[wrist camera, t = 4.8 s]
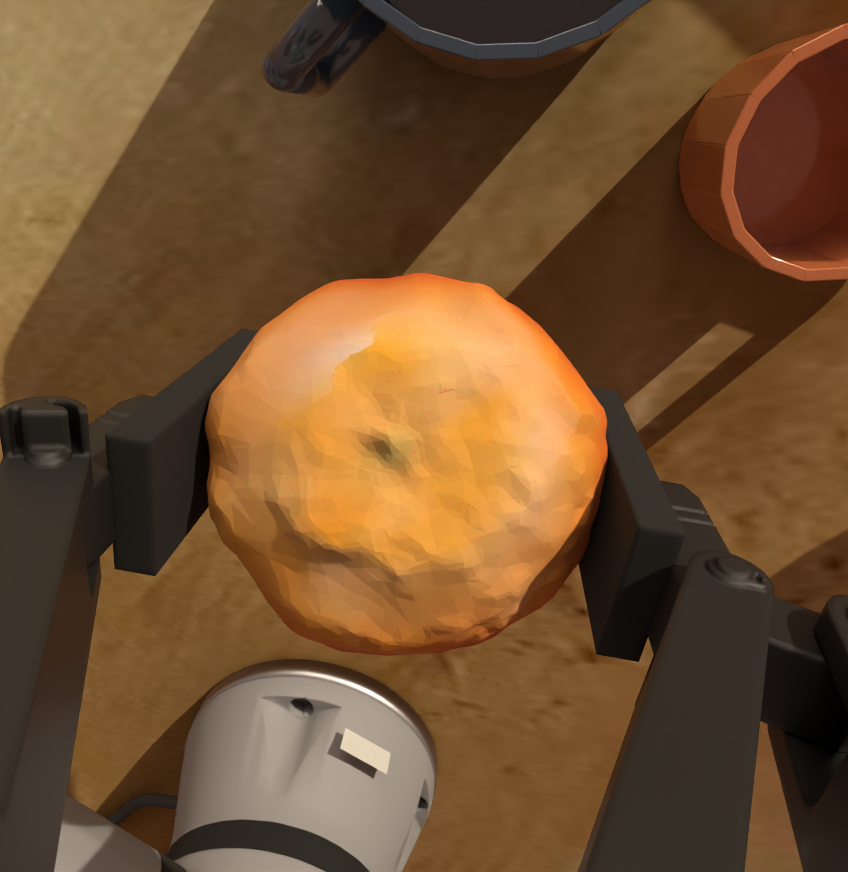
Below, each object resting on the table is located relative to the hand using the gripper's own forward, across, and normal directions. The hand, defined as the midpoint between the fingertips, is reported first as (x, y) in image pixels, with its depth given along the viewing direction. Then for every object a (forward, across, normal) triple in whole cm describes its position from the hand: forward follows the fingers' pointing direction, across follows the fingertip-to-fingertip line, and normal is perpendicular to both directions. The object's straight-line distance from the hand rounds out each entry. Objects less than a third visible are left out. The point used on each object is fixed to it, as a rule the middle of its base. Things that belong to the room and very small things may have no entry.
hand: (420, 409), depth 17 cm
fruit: (+1, 0, 0) cm, 1 cm away
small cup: (+12, -13, -7) cm, 19 cm away
